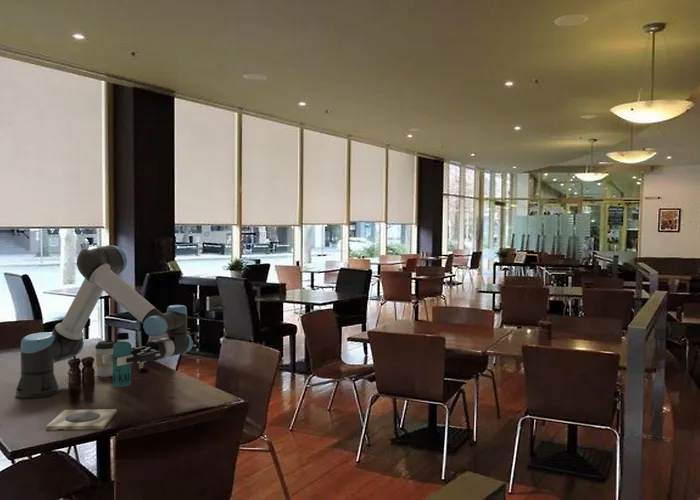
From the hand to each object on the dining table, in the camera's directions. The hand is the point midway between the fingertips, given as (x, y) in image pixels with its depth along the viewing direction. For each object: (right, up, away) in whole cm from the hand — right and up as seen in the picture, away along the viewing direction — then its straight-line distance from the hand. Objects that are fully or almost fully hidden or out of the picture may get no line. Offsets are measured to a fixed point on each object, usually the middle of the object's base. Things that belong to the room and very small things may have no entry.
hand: (110, 360), depth 214 cm
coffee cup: (-26, -18, +62) cm, 69 cm away
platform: (-14, -18, +74) cm, 77 cm away
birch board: (-9, -20, -2) cm, 22 cm away
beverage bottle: (+2, -11, +5) cm, 12 cm away
